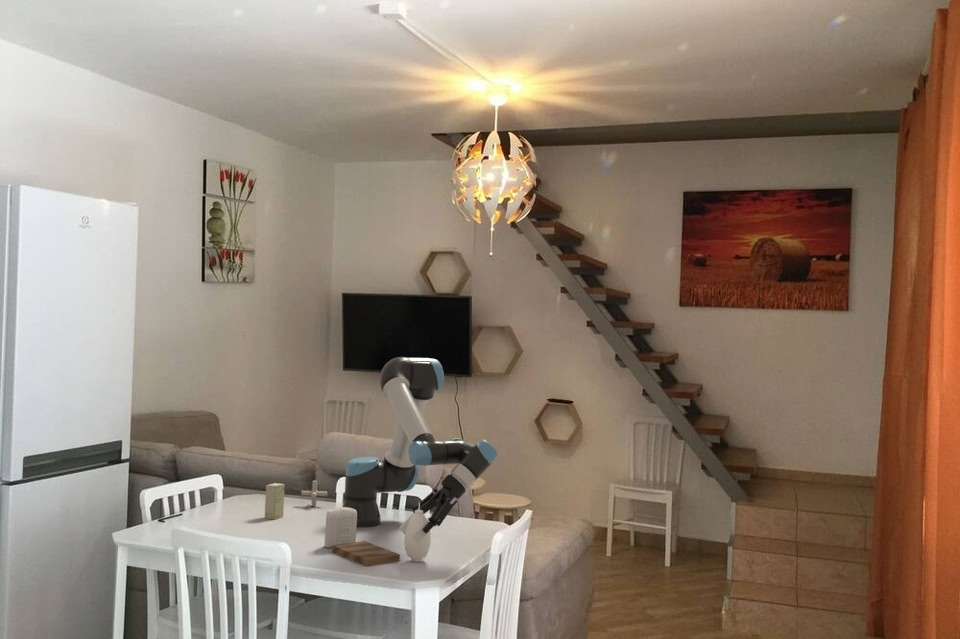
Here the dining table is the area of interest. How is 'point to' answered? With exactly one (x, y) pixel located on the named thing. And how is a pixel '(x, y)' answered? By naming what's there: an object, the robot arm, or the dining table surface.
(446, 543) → the dining table surface
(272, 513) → the skincare box
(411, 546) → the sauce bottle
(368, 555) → the walnut board
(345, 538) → the beige engraved tablet
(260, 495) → the dining table surface
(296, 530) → the dining table surface
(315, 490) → the pipe connector
